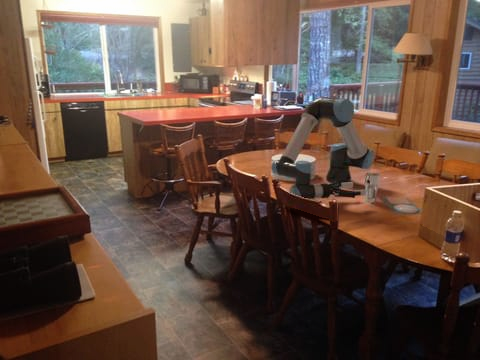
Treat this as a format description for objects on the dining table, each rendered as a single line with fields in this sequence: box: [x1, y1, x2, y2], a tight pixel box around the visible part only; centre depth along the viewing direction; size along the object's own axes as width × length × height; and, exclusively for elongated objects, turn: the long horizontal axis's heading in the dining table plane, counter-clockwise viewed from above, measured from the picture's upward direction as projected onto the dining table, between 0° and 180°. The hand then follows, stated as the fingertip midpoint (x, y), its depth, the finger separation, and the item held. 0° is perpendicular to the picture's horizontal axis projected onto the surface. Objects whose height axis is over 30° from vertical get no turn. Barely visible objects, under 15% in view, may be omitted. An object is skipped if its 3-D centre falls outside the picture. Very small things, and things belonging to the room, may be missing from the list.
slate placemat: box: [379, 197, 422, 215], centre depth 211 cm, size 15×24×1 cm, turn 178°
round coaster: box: [394, 204, 418, 215], centre depth 205 cm, size 11×11×1 cm
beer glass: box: [364, 172, 380, 204], centre depth 216 cm, size 7×7×15 cm
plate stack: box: [270, 153, 317, 182], centre depth 266 cm, size 28×28×12 cm
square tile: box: [384, 196, 411, 205], centre depth 216 cm, size 10×10×1 cm
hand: (359, 188), depth 214 cm, fingers open, 13 cm apart
